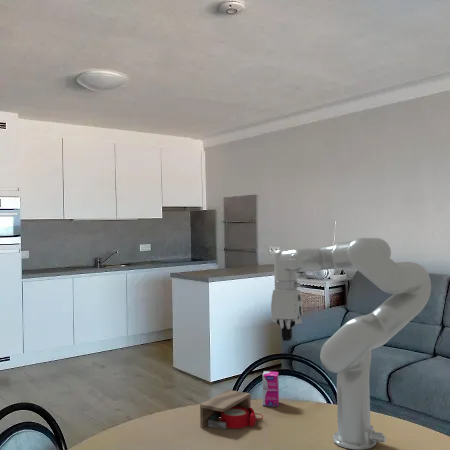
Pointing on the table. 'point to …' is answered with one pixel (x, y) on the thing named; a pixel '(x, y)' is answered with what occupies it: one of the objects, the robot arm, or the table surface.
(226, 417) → the alarm clock
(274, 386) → the supplement box
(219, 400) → the overhang shelf
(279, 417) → the table surface
